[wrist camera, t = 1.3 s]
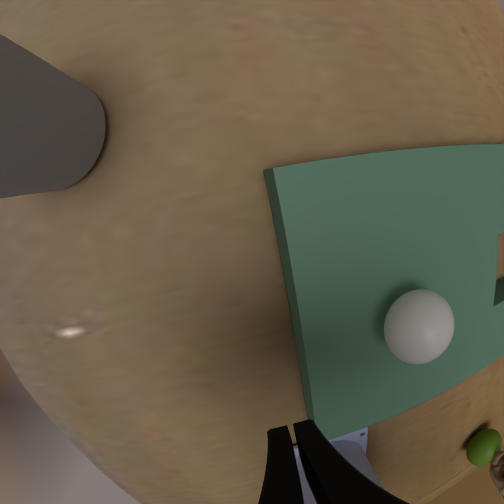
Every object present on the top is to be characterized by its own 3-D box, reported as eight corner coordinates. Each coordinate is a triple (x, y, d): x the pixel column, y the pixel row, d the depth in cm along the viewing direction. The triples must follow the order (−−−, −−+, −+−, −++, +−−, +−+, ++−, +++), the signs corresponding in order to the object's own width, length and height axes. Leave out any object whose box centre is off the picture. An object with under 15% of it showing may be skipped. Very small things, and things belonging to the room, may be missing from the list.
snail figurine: (454, 459, 27) (492, 511, 16) (465, 433, 26) (512, 489, 14) (480, 441, 27) (520, 487, 16) (492, 414, 26) (539, 462, 14)
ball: (425, 330, 16) (463, 360, 13) (371, 351, 16) (404, 389, 12) (427, 271, 15) (472, 294, 12) (369, 290, 15) (409, 321, 11)
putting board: (514, 322, 22) (532, 332, 19) (307, 417, 21) (317, 443, 18) (518, 144, 17) (542, 144, 15) (263, 170, 16) (272, 168, 13)
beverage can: (117, 82, 14) (-4, -25, 2) (106, 190, 15) (-58, 218, 4) (31, 94, 13) (-103, 49, 2) (22, 192, 15) (-129, 221, 3)
